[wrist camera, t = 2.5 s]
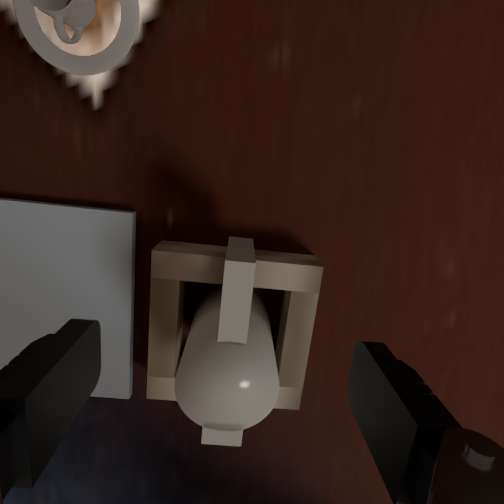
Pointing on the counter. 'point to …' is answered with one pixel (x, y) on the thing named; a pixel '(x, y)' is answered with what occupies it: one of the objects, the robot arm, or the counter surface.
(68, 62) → the teacup and saucer
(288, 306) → the frame
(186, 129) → the counter surface
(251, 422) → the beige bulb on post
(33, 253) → the pad
